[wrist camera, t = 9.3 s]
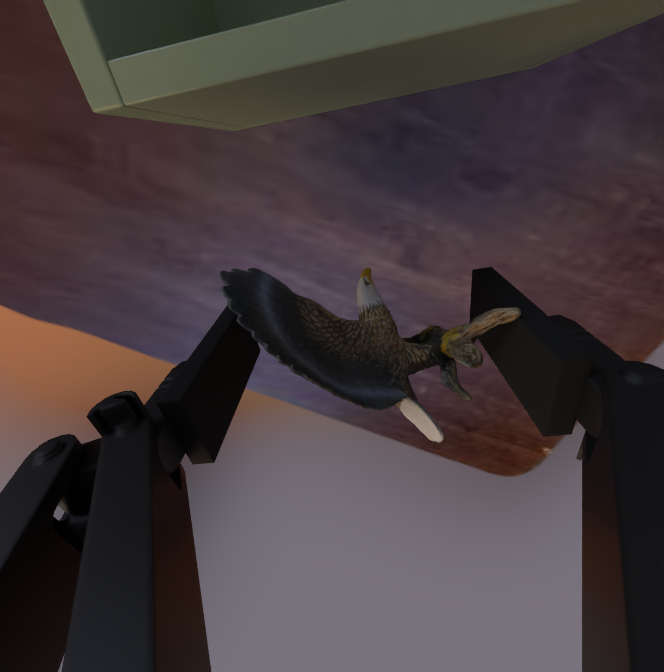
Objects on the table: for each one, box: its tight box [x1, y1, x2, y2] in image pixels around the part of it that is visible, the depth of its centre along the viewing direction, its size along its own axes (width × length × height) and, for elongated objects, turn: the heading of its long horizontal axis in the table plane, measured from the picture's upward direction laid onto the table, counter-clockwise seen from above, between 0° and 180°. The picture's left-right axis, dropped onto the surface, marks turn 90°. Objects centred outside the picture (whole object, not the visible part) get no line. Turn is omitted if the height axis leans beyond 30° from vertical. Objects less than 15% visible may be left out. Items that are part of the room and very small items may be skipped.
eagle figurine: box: [220, 268, 521, 442], centre depth 13 cm, size 8×7×9 cm
